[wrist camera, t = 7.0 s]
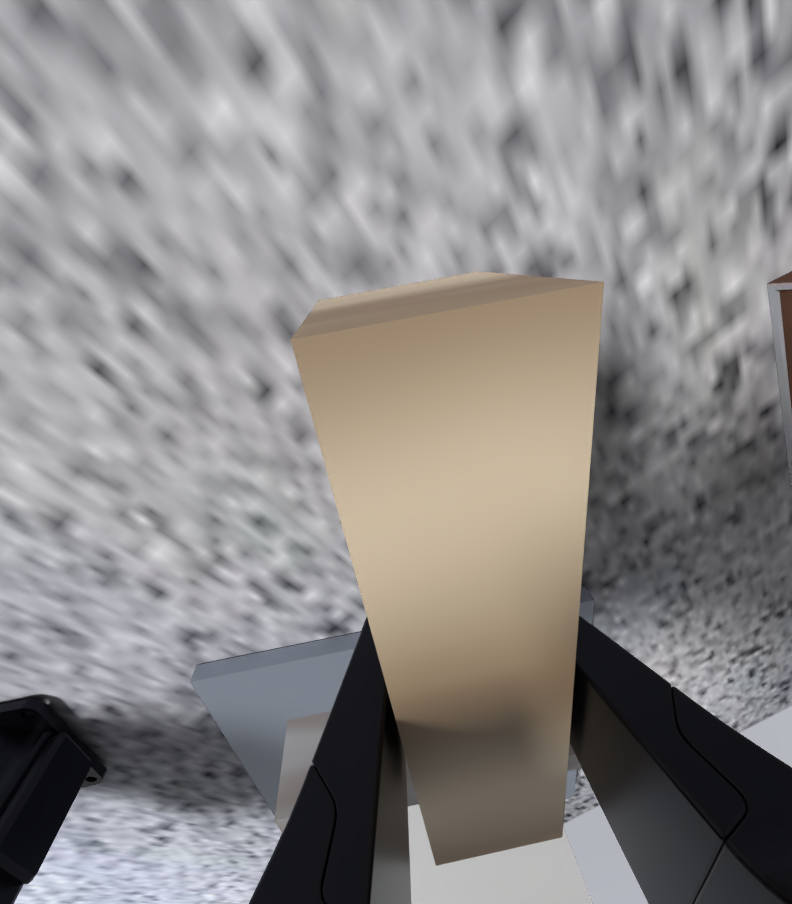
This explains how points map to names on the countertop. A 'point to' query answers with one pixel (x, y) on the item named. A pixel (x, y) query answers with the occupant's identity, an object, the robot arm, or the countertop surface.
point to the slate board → (285, 698)
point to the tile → (495, 873)
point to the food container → (783, 350)
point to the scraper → (462, 534)
